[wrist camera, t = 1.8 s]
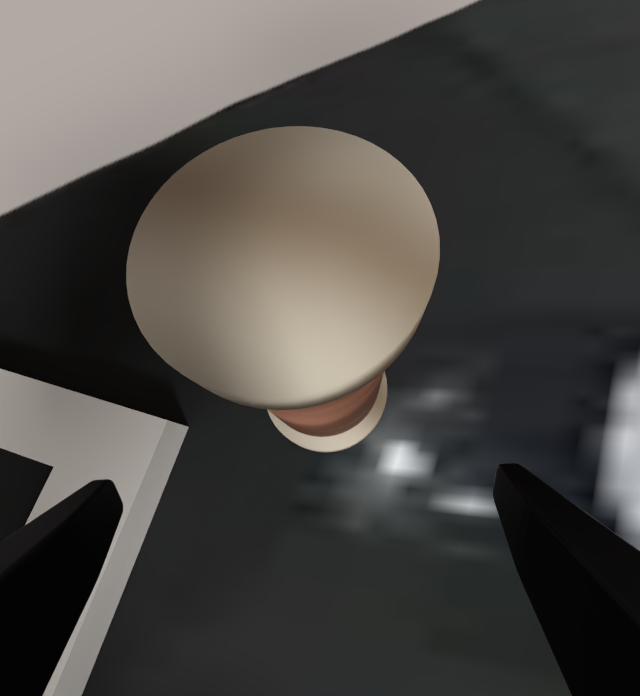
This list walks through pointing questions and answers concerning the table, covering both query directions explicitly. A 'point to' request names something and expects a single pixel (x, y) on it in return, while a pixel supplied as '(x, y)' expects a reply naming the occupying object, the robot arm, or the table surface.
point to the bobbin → (287, 276)
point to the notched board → (78, 470)
